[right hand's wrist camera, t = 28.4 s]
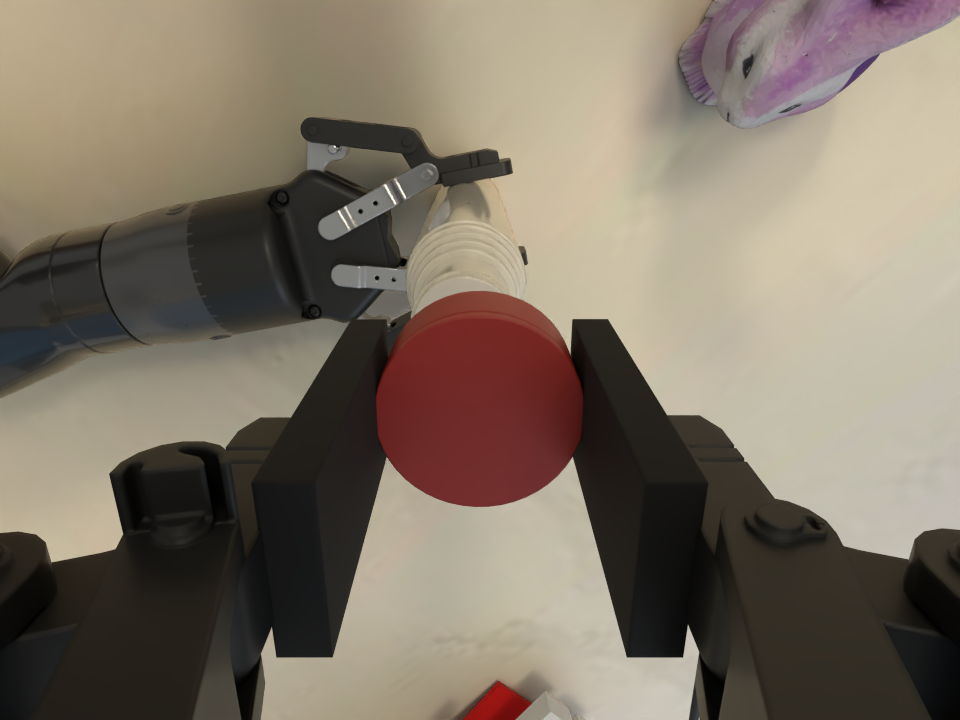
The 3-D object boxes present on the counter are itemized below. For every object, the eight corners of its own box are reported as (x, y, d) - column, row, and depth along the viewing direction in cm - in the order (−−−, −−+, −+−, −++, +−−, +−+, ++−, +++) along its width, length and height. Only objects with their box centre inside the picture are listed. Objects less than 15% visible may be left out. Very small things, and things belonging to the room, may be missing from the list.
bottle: (490, 247, 42) (513, 414, 19) (427, 228, 42) (370, 375, 18) (510, 183, 41) (562, 277, 17) (445, 162, 40) (409, 230, 17)
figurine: (649, 114, 39) (748, 115, 25) (719, -75, 36) (878, -196, 22) (790, 161, 40) (959, 187, 26) (871, -18, 37) (1115, -99, 23)
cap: (611, 369, 14) (629, 405, 12) (490, 491, 15) (492, 541, 13) (467, 249, 13) (465, 271, 11) (350, 389, 14) (331, 429, 13)
